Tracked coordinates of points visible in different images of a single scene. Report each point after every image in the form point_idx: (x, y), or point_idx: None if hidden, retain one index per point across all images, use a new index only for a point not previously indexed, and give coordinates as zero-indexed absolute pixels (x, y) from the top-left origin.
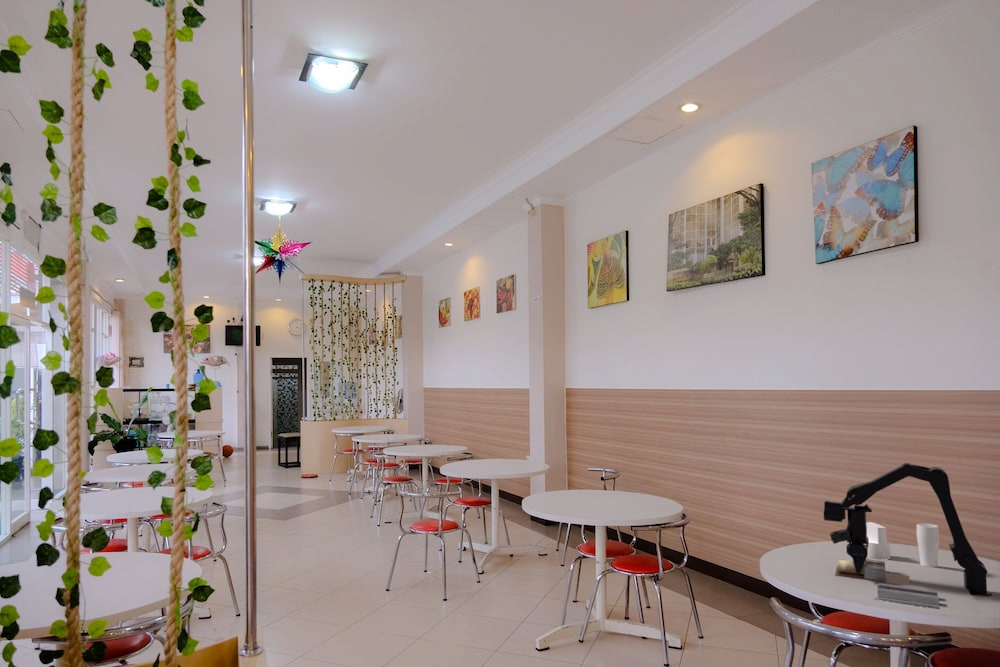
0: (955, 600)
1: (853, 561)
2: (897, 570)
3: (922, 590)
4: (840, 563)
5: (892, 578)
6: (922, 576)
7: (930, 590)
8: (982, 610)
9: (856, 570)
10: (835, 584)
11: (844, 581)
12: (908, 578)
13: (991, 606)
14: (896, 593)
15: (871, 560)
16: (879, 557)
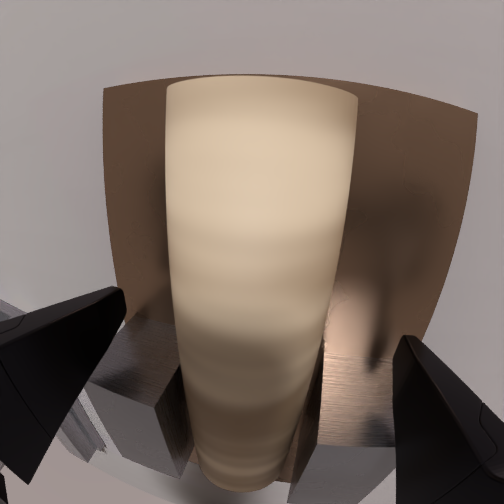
0: (138, 472)
1: (2, 321)
2: None
3: (58, 435)
4: (168, 128)
5: None
6: (380, 493)
7: (76, 452)
8: (107, 470)
9: (95, 297)
10: (23, 124)
11: (88, 166)
12: (281, 480)
13: (147, 492)
14: None
15: (363, 474)
16: None
